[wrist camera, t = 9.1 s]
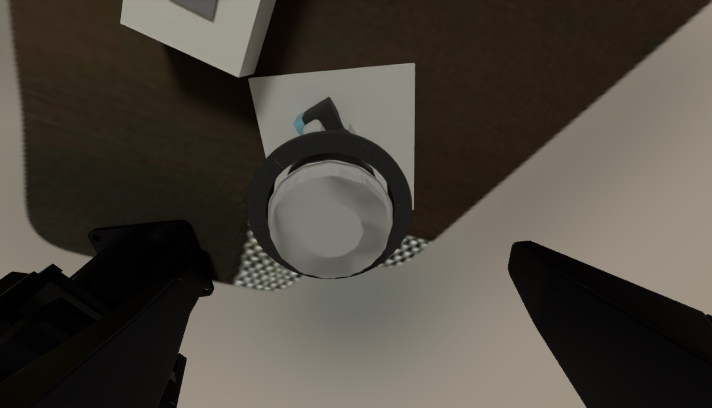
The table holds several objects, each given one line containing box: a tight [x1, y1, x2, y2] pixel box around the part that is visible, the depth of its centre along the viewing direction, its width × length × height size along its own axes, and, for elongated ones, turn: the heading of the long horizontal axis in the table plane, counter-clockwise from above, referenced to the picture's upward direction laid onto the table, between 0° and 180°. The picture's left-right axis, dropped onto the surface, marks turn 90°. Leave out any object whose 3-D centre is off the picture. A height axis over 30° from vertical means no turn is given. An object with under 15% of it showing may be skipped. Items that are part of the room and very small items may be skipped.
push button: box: [247, 97, 412, 279], centre depth 13 cm, size 7×5×10 cm
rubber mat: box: [248, 63, 415, 210], centre depth 18 cm, size 9×9×1 cm
